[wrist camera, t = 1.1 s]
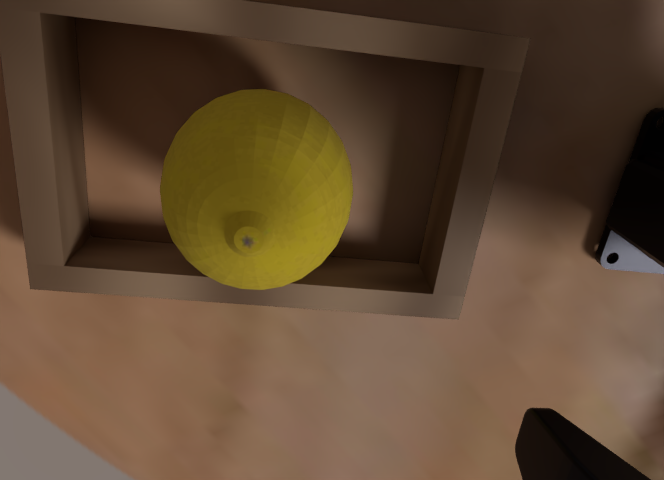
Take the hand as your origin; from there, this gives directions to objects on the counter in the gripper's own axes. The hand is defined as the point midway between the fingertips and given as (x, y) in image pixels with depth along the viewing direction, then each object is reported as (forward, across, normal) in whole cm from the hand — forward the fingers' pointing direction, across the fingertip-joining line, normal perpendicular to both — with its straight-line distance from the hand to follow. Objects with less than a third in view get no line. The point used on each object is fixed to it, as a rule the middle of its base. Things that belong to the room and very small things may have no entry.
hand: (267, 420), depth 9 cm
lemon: (+12, +1, -1) cm, 12 cm away
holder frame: (+12, +1, -1) cm, 12 cm away
